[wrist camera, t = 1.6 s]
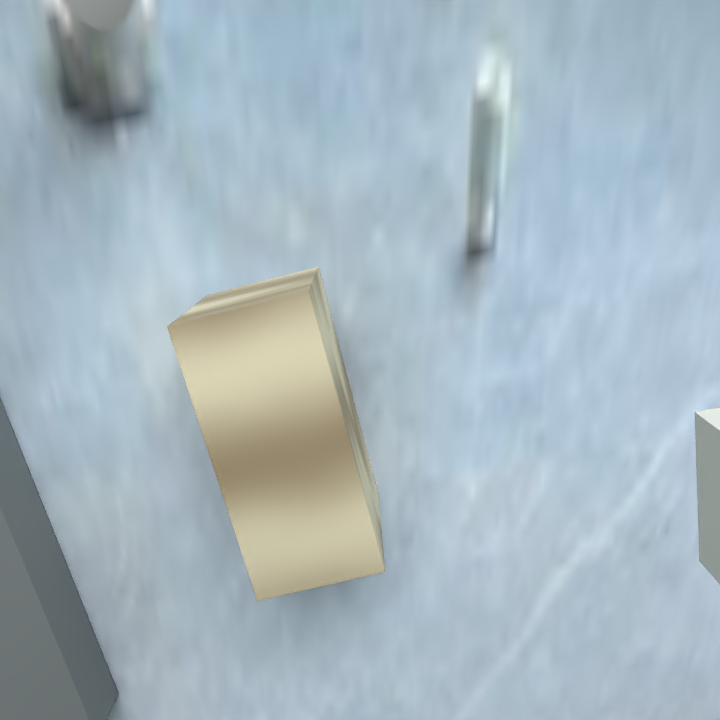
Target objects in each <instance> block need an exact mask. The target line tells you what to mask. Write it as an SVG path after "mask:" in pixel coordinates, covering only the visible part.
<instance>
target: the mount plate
mask: <svg viewBox="0 0 720 720" xmlns="http://www.w3.org/2000/svg"><path fill="white" fill-rule="evenodd" d="M117 695H118V691H117V689H116V686H115V684H114V681H113V679H112V676H111V674H110V671H109V669H108V666H107V664H106V661H105V659H104V656H103V654H102V651H101V649H100V646H99V644H98V641H97V639H96V636H95V634H94V631H93V629H92V626H91V624H90V621H89V619H88V616H87V614H86V611H85V609H84V606H83V604H82V601H81V599H80V596H79V594H78V591H77V589H76V586H75V584H74V581H73V579H72V576H71V574H70V571H69V569H68V566H67V564H66V561H65V559H64V556H63V554H62V551H61V549H60V546H59V544H58V541H57V539H56V536H55V534H54V531H53V529H52V526H51V524H50V521H49V519H48V516H47V514H46V511H45V509H44V507H43V504H42V502H41V499H40V497H39V494H38V492H37V489H36V487H35V484H34V482H33V479H32V477H31V474H30V472H29V469H28V467H27V464H26V462H25V459H24V457H23V454H22V452H21V449H20V447H19V444H18V442H17V439H16V437H15V434H14V432H13V429H12V427H11V424H10V422H9V419H8V417H7V414H6V412H5V409H4V407H3V404H2V402H1V399H0V720H107V717H108V715H109V713H110V711H111V709H112V706H113V704H114V702H115V700H116V698H117Z"/></svg>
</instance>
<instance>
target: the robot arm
mask: <svg viewBox="0 0 720 720" xmlns="http://www.w3.org/2000/svg"><path fill="white" fill-rule="evenodd" d="M695 435H696V466H697V498H698V530H699V561H700V562H701V563H702V564H703V565H704V567H705V568H706V569H707V570H708V571H709V572H710V574H711V575H712V576H713V577H714V578H715V579H716V580H717V582H718V583H719V584H720V407H719V408H714V409H708V410H702V411H697V412H695Z"/></svg>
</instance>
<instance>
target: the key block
mask: <svg viewBox="0 0 720 720" xmlns="http://www.w3.org/2000/svg"><path fill="white" fill-rule="evenodd" d="M167 327H168V330H169V334H170V337H171V340H172V343H173V346H174V349H175V352H176V355H177V358H178V361H179V364H180V367H181V370H182V373H183V376H184V379H185V382H186V385H187V388H188V391H189V394H190V397H191V401H192V404H193V407H194V410H195V413H196V416H197V419H198V422H199V425H200V428H201V431H202V434H203V437H204V440H205V443H206V446H207V449H208V452H209V455H210V458H211V461H212V465H213V468H214V471H215V474H216V477H217V480H218V483H219V486H220V489H221V492H222V495H223V498H224V501H225V504H226V507H227V510H228V513H229V516H230V519H231V522H232V525H233V529H234V532H235V535H236V538H237V541H238V544H239V547H240V550H241V553H242V556H243V559H244V562H245V565H246V568H247V571H248V574H249V577H250V580H251V583H252V586H253V589H254V593H255V596H256V599H257V601H261V600H265V599H269V598H274V597H278V596H282V595H287V594H291V593H295V592H300V591H304V590H309V589H313V588H317V587H322V586H326V585H330V584H335V583H339V582H343V581H348V580H352V579H356V578H361V577H365V576H369V575H374V574H378V573H382V572H385V566H384V554H383V543H382V531H381V520H380V508H379V496H378V490H377V486H376V482H375V479H374V475H373V471H372V467H371V464H370V460H369V456H368V452H367V449H366V445H365V441H364V437H363V433H362V430H361V426H360V422H359V418H358V415H357V411H356V407H355V403H354V400H353V396H352V392H351V388H350V385H349V381H348V377H347V373H346V370H345V366H344V362H343V358H342V355H341V351H340V347H339V343H338V339H337V336H336V332H335V328H334V324H333V321H332V317H331V313H330V309H329V306H328V302H327V298H326V294H325V291H324V287H323V283H322V279H321V276H320V272H319V268H318V267H316V268H312V269H308V270H304V271H300V272H296V273H292V274H288V275H284V276H280V277H277V278H273V279H269V280H265V281H261V282H257V283H253V284H249V285H245V286H241V287H237V288H233V289H229V290H225V291H221V292H217V293H214V294H210V295H207V296H206V297H205V298H203V299H202V300H201V301H200V302H198V303H197V304H196V305H194V306H193V307H192V308H190V309H189V310H188V311H187V312H185V313H184V314H183V315H181V316H180V317H179V318H178V319H176V320H175V321H174V322H172V323H171V324H170V325H169V326H167Z"/></svg>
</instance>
